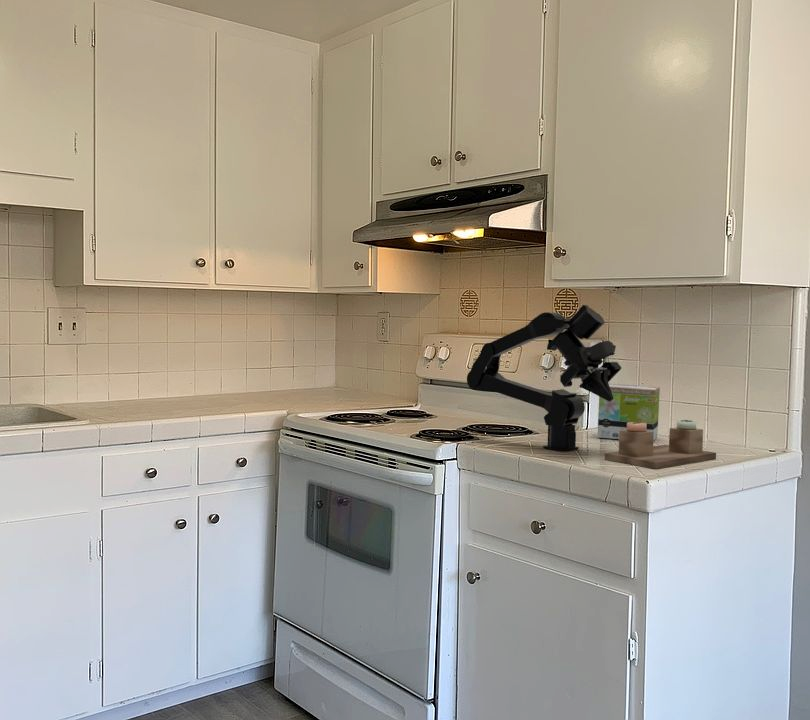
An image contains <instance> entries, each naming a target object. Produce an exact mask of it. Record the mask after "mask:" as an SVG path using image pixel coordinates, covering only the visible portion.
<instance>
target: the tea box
mask: <svg viewBox="0 0 810 720" xmlns="http://www.w3.org/2000/svg"><path fill="white" fill-rule="evenodd" d="M608 384H609V387H610V390H611V392H612V395H613V400H612V401H607V400H605V399H603V398H601V397H600V396H598V414H597V416H598V417H597V438H598V439H613V440H619V430H627V423H628V422H641V423H646V424H647V428H646V431H653V432H654V439H653V442H654V441H656V439H657V438H658V433H659V432H658V431H659V430H658V429H659V415H660V414H659V413H660V412H659V411H660V390H661V389H660V386H649V385H648V386H647V385H646V386H645V385H633V384H617V383H608Z"/></svg>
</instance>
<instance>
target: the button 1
mask: <svg viewBox="0 0 810 720" xmlns="http://www.w3.org/2000/svg"><path fill="white" fill-rule="evenodd" d="M646 428H647V424H646V423H641V422H628V423H627V430H629V431H637V432H643V431H646Z"/></svg>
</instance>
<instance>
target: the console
mask: <svg viewBox="0 0 810 720" xmlns="http://www.w3.org/2000/svg"><path fill="white" fill-rule="evenodd" d="M668 432H669V434H668V435H669V436H668V437H669V438H668V439H669V440H668V444H660V445H655V446H654V441H653V439H654V432H653V431H643V432H637V431H629V430H619V439H618V451H610V452H604V460H605V461H611V462H617V463H619V464H620V463H621V464H627V465H631V466H636V467H642V468H646V469H652V470H659V469H660V470H661V469H665V468H672V467H676V466H684V465H687V464H694V463H699V462H700V463H701V462H705V461H712V460H716V459H717V452H715V451H708V450H707V451H706V450H703V449H704V448H703V443H704V429H703V428H697V427H696V429H680V428H677V426H676V427H669V431H668Z"/></svg>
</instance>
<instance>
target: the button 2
mask: <svg viewBox="0 0 810 720" xmlns="http://www.w3.org/2000/svg"><path fill="white" fill-rule="evenodd" d="M676 427H677V428H680V429H696V428H697V421H694V420H691V419H690V420H689V419H684V420H683V419H681V420H680V419H678V420H677V421H676Z"/></svg>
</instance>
